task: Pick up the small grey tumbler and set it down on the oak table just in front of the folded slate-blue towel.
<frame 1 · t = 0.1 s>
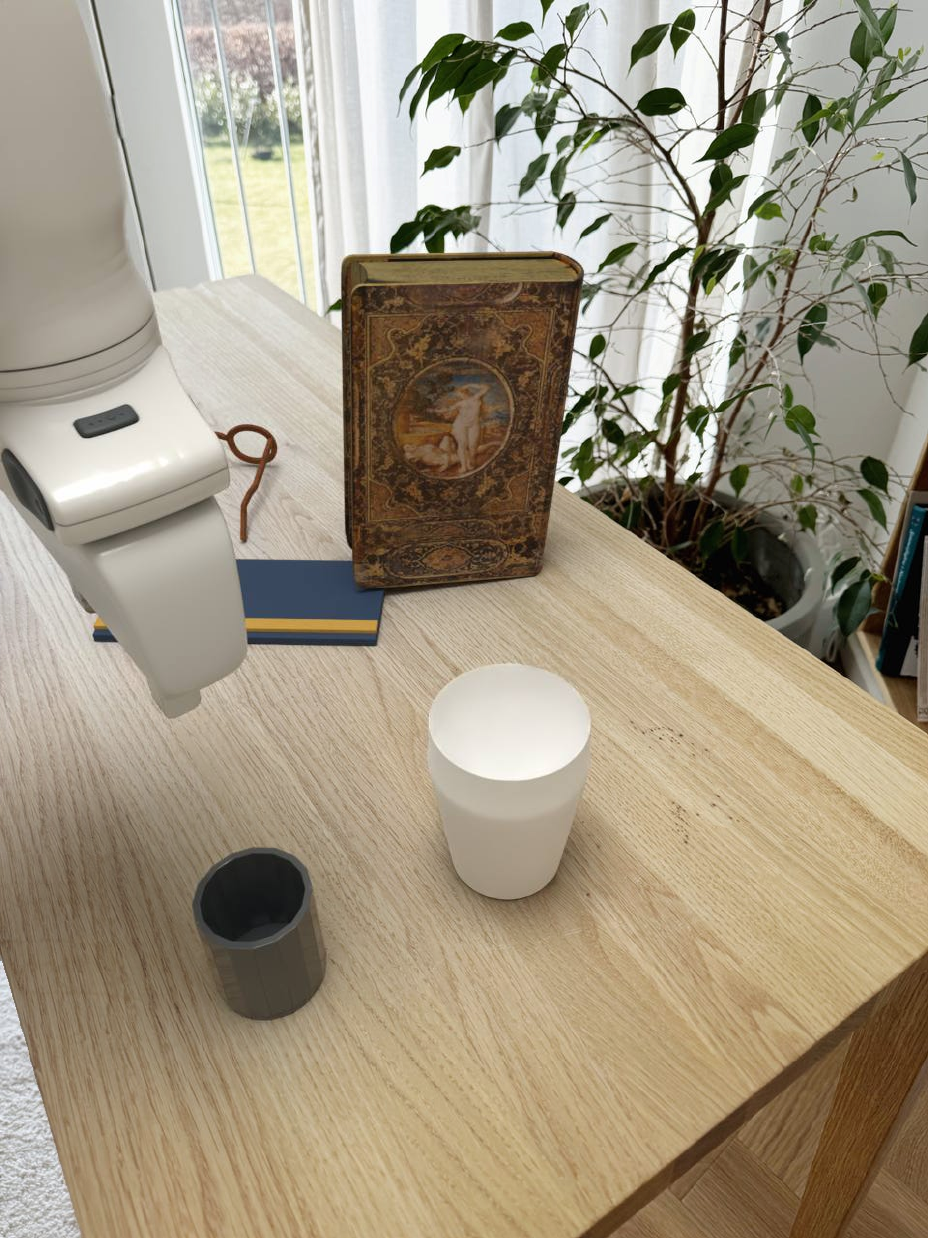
hand: (136, 650, 47), 18 cm above the table, tool pointing down, fingers open, 8 cm apart
glasses: (196, 501, 91), on the table
towel: (247, 602, 79), on the table
grey tumbler: (271, 968, 54), on the table
book: (446, 564, 82), on the table
cup: (505, 856, 60), on the table
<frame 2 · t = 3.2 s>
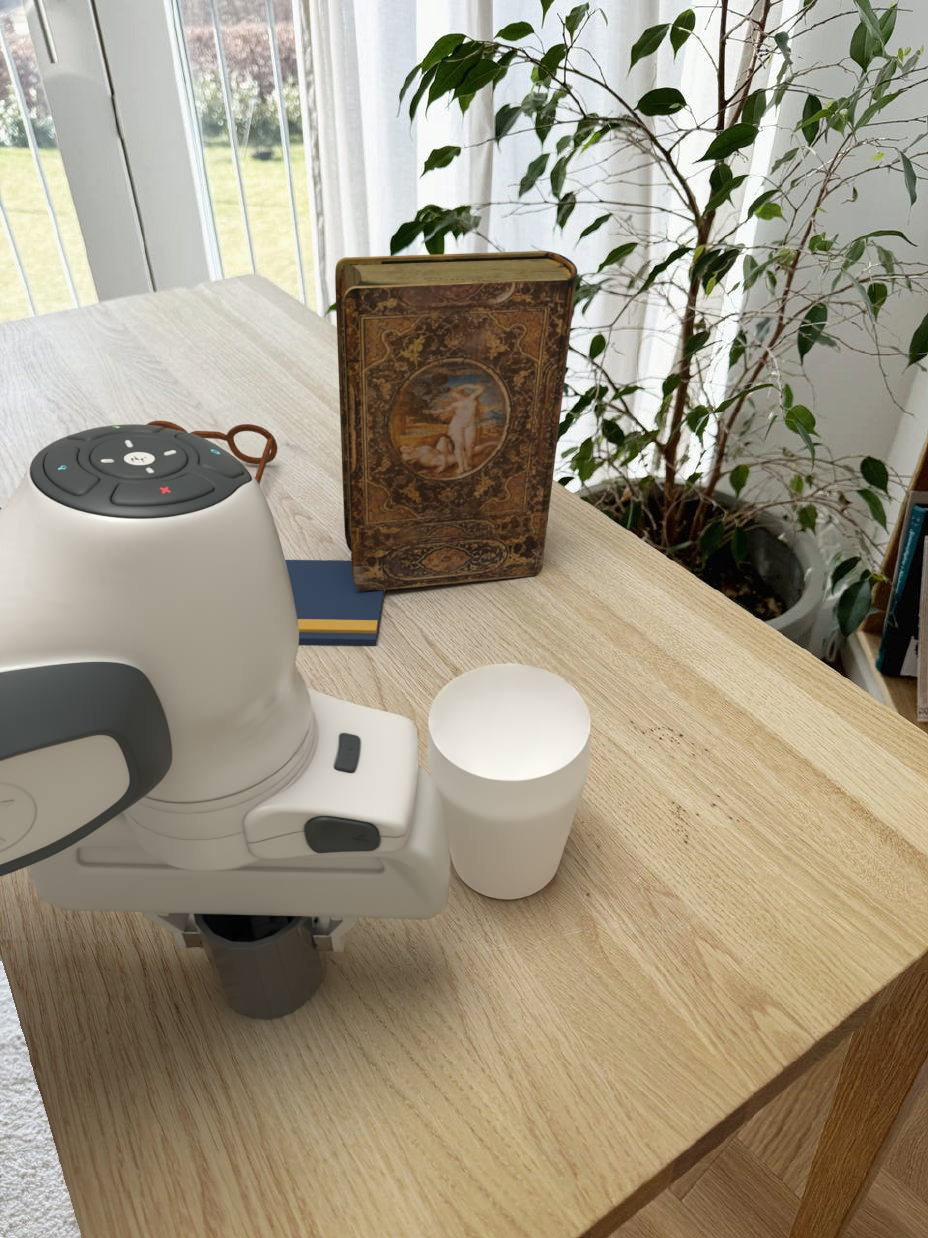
hand: (265, 938, 52), 3 cm above the table, tool pointing down, fingers closed on grey tumbler, 6 cm apart
grey tumbler: (271, 968, 54), on the table, touching gripper
book: (446, 565, 82), on the table, touching towel
everything else where it was.
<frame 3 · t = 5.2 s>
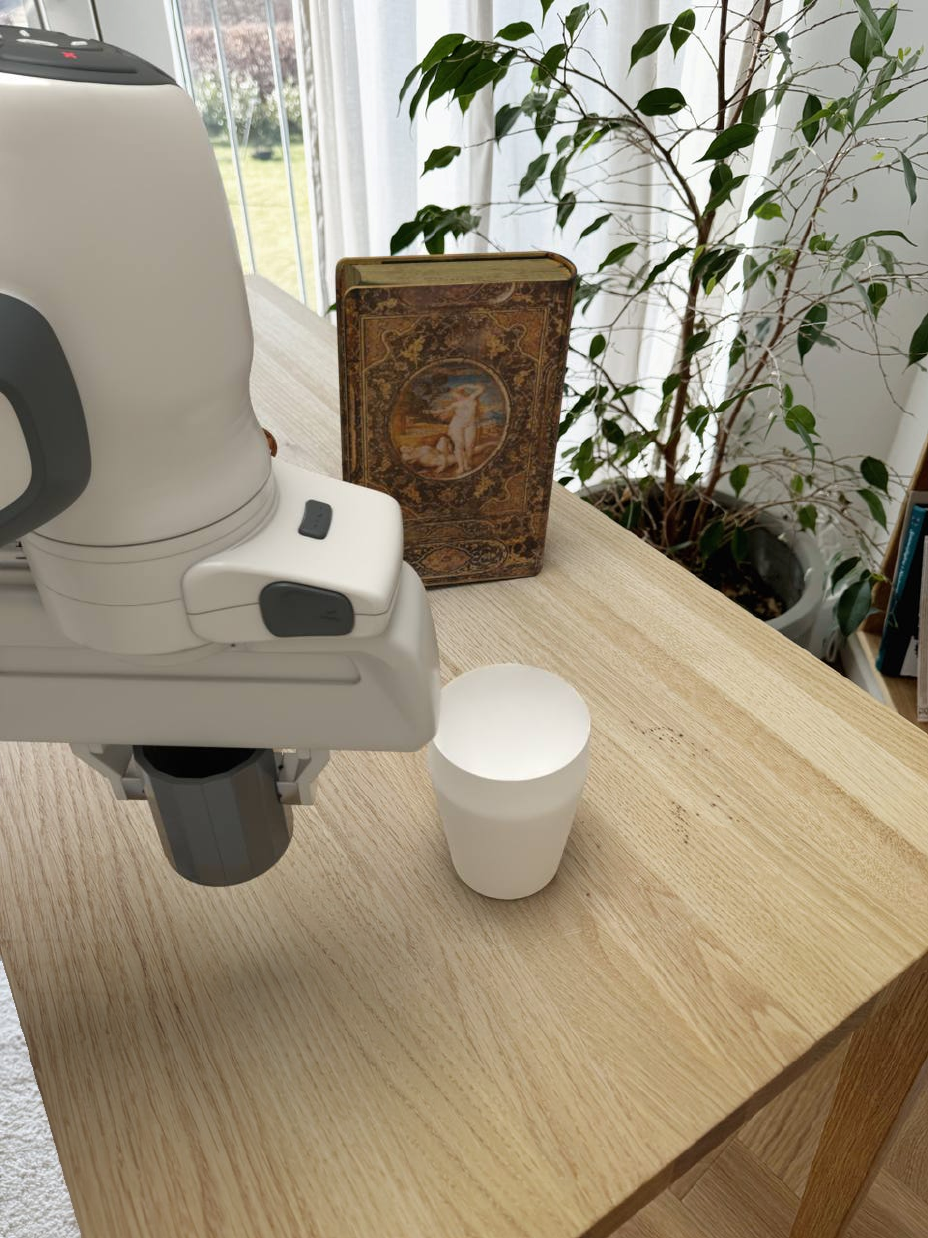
hand: (220, 791, 44), 15 cm above the table, tool pointing down, fingers closed on grey tumbler, 6 cm apart
grey tumbler: (229, 833, 46), point 12 cm above the table, touching gripper
everything else where it was.
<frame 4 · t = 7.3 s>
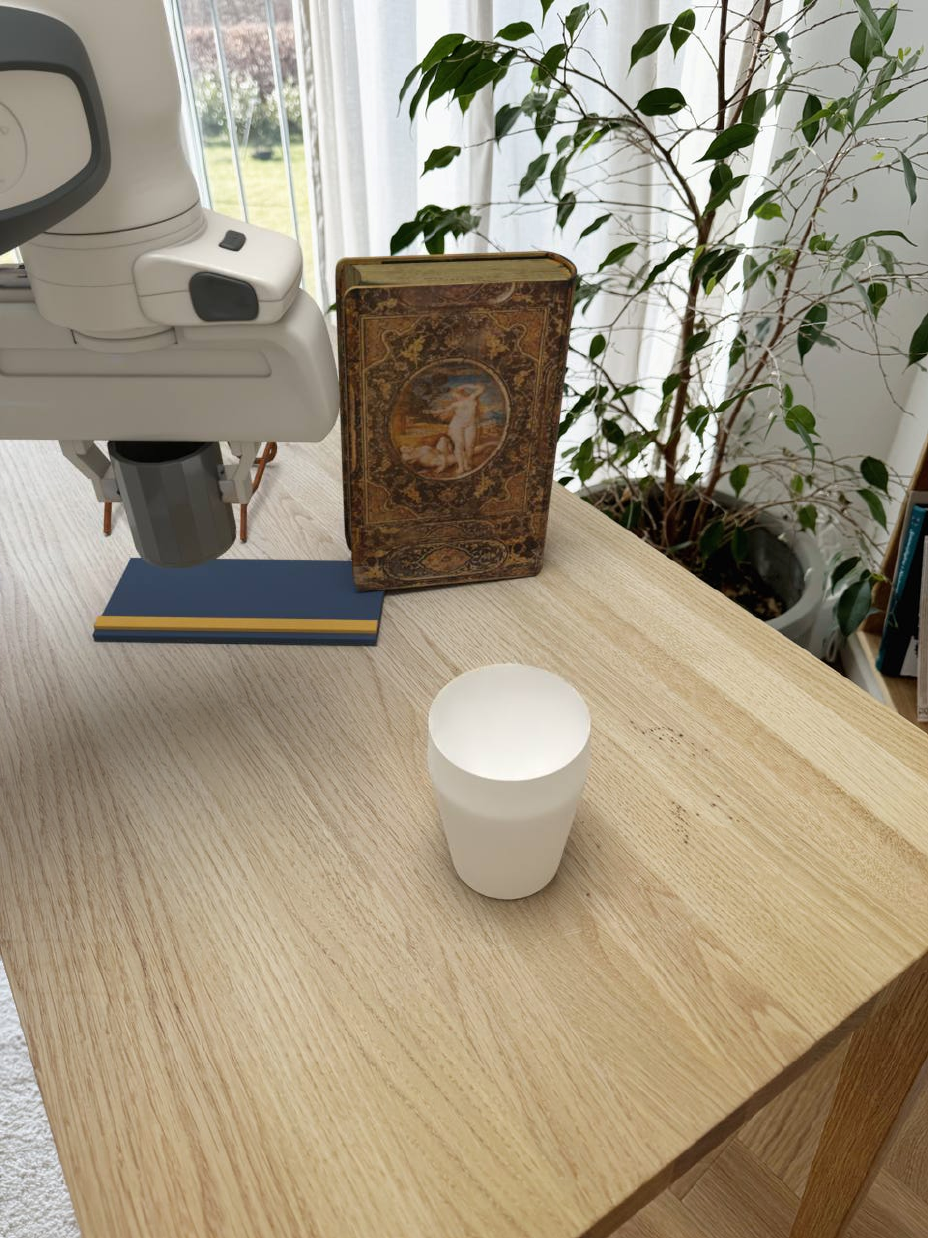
hand: (177, 497, 57), 18 cm above the table, tool pointing down, fingers closed on grey tumbler, 6 cm apart
grey tumbler: (186, 539, 59), point 15 cm above the table, touching gripper
everything else where it was.
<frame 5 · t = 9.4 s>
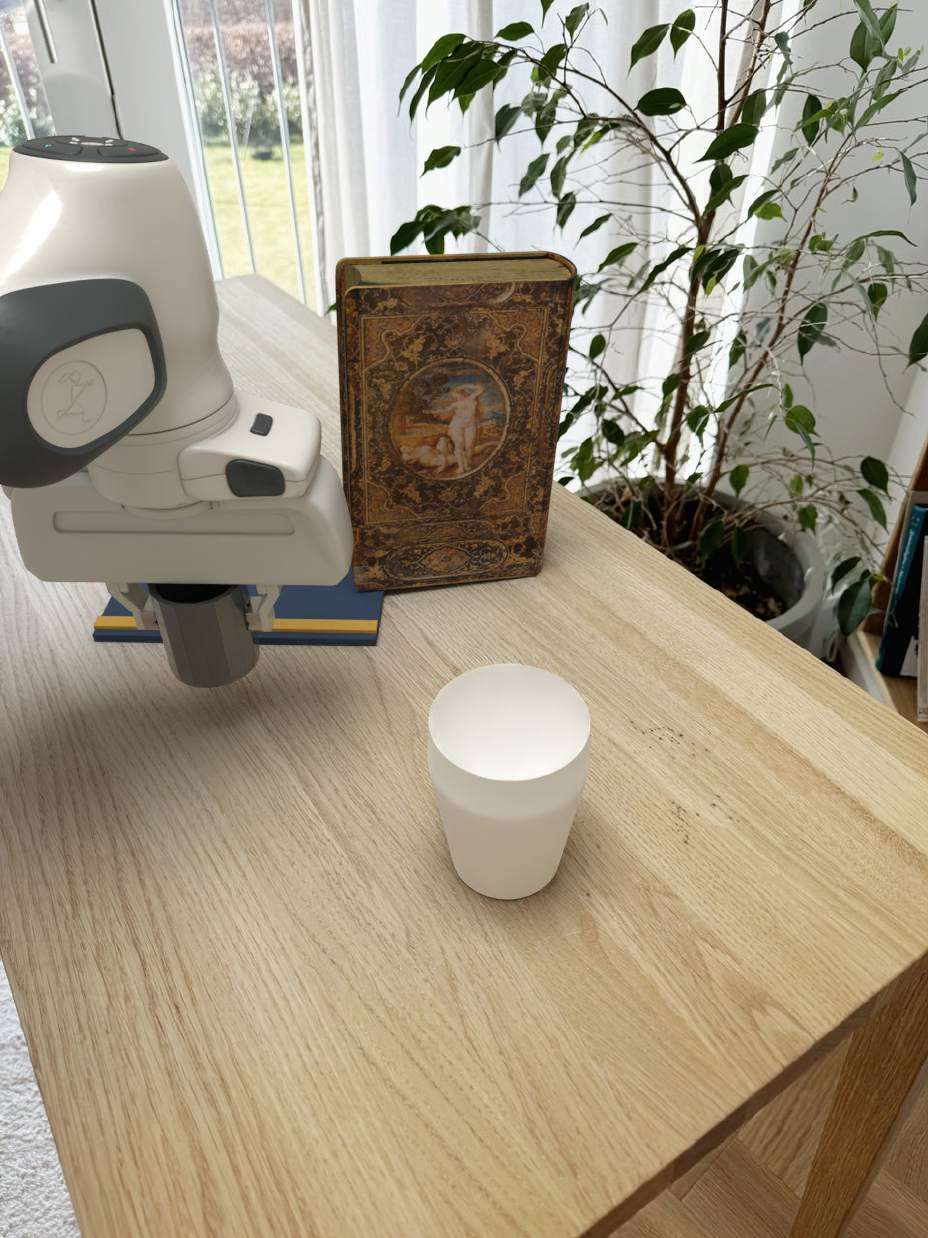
hand: (208, 624, 64), 8 cm above the table, tool pointing down, fingers closed on grey tumbler, 6 cm apart
grey tumbler: (215, 657, 66), point 5 cm above the table, touching gripper
everything else where it was.
when the fingers open (3 cm above the table, at t = 11.2 s): grey tumbler stays where it is, on the table.
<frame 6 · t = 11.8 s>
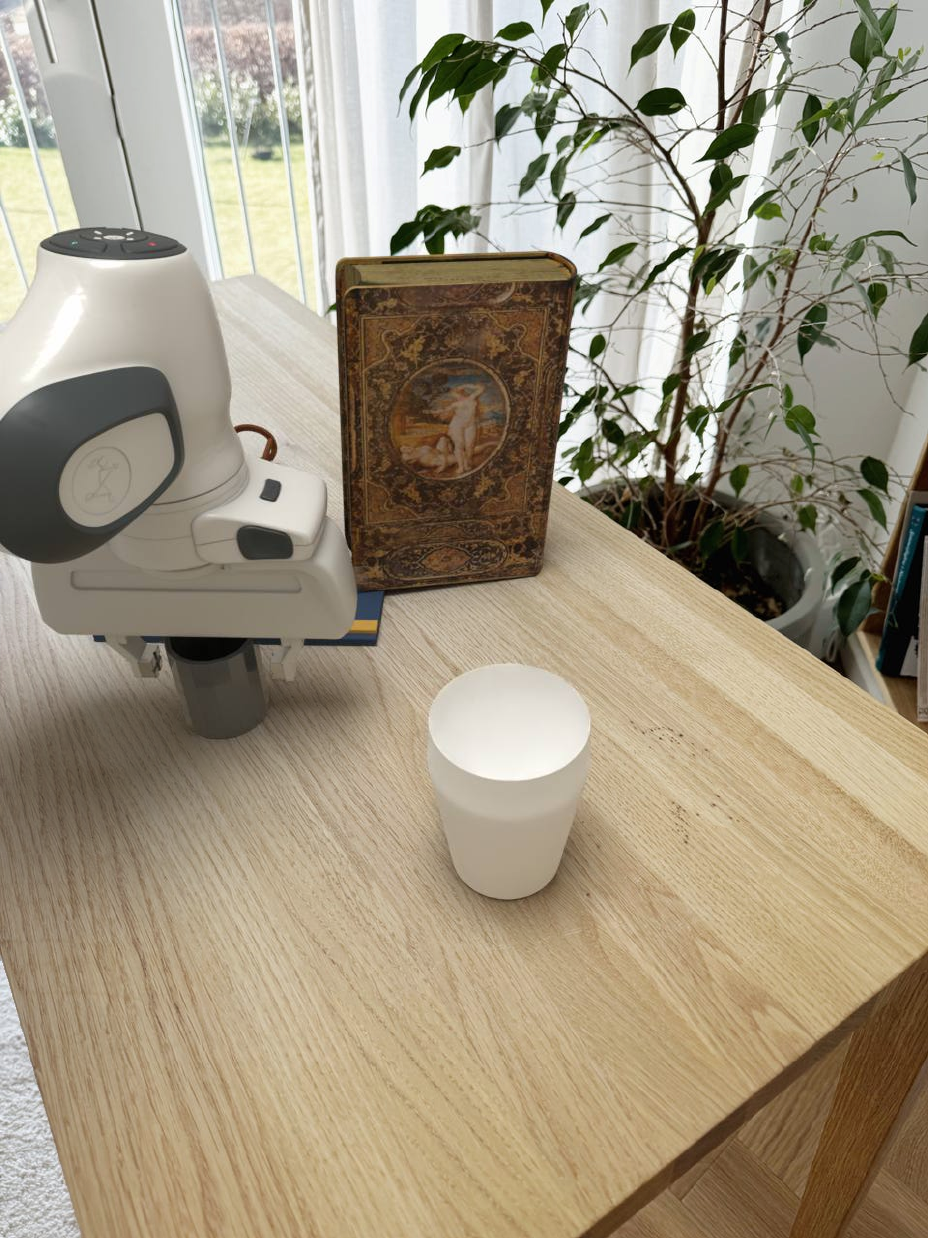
hand: (217, 673, 67), 4 cm above the table, tool pointing down, fingers open, 8 cm apart
grey tumbler: (227, 708, 70), on the table
everything else where it was.
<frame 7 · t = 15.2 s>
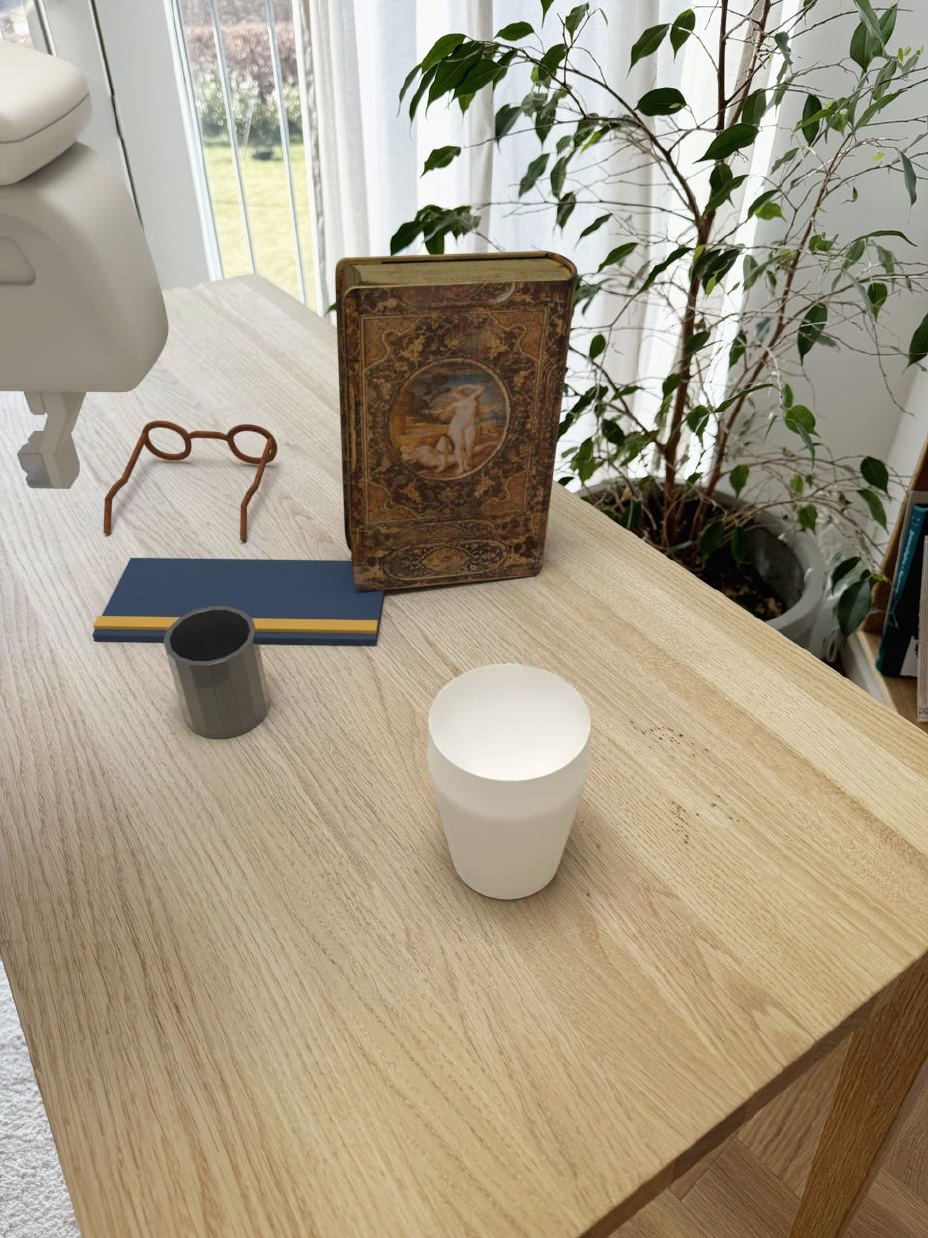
nothing on the table moved.
at the end: grey tumbler inside the target area on the table beside the towel (1.0 cm from its centre), on the table; grey tumbler tilted 0°; the gripper is holding nothing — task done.
